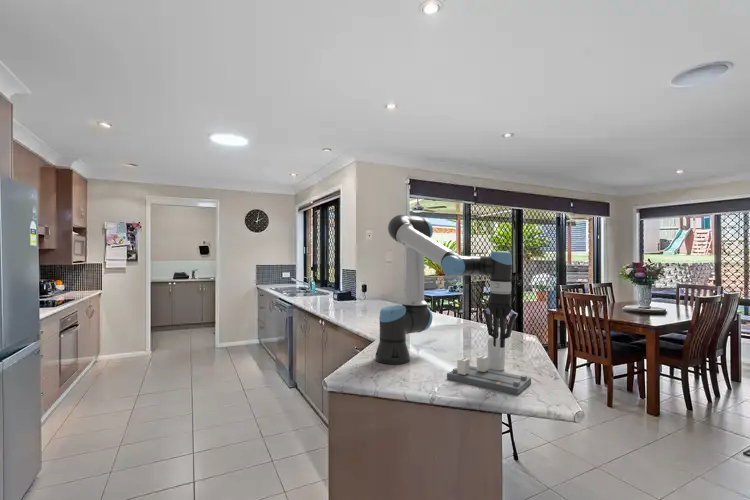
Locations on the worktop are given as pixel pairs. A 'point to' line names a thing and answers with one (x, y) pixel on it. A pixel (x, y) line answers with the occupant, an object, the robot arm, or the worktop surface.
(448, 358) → the worktop surface
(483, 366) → the fader far
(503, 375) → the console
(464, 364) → the fader near
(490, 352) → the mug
